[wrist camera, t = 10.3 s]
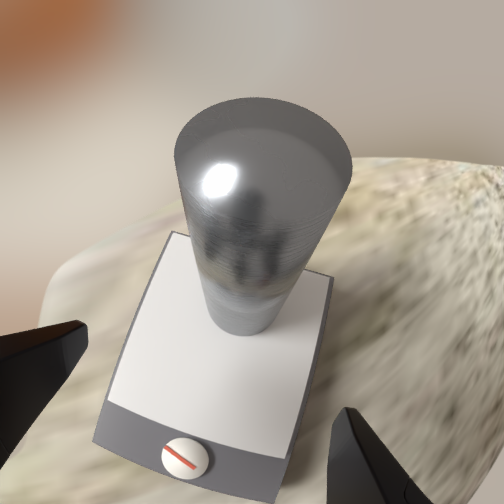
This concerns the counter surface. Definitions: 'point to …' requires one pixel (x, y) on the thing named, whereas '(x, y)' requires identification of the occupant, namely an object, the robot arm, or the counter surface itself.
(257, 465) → the kitchen scale
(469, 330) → the counter surface
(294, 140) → the steel weight
